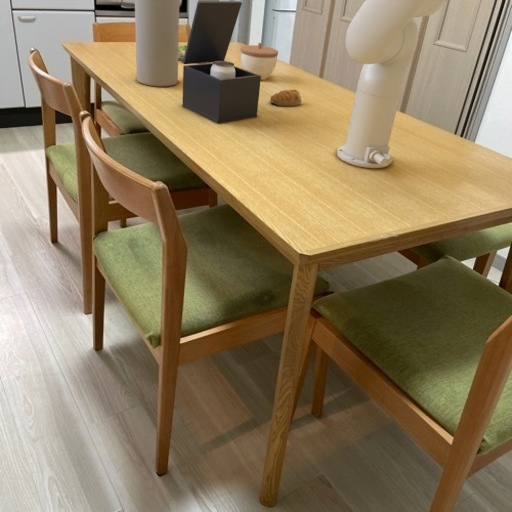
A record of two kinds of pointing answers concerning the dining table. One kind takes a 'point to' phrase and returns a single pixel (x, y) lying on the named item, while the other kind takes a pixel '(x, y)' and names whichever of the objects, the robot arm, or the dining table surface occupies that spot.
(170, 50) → the cylinder vase
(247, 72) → the bin
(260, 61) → the lidded bowl
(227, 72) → the can
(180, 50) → the salad plate
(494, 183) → the dining table surface
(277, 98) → the pastry
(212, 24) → the bin lid
